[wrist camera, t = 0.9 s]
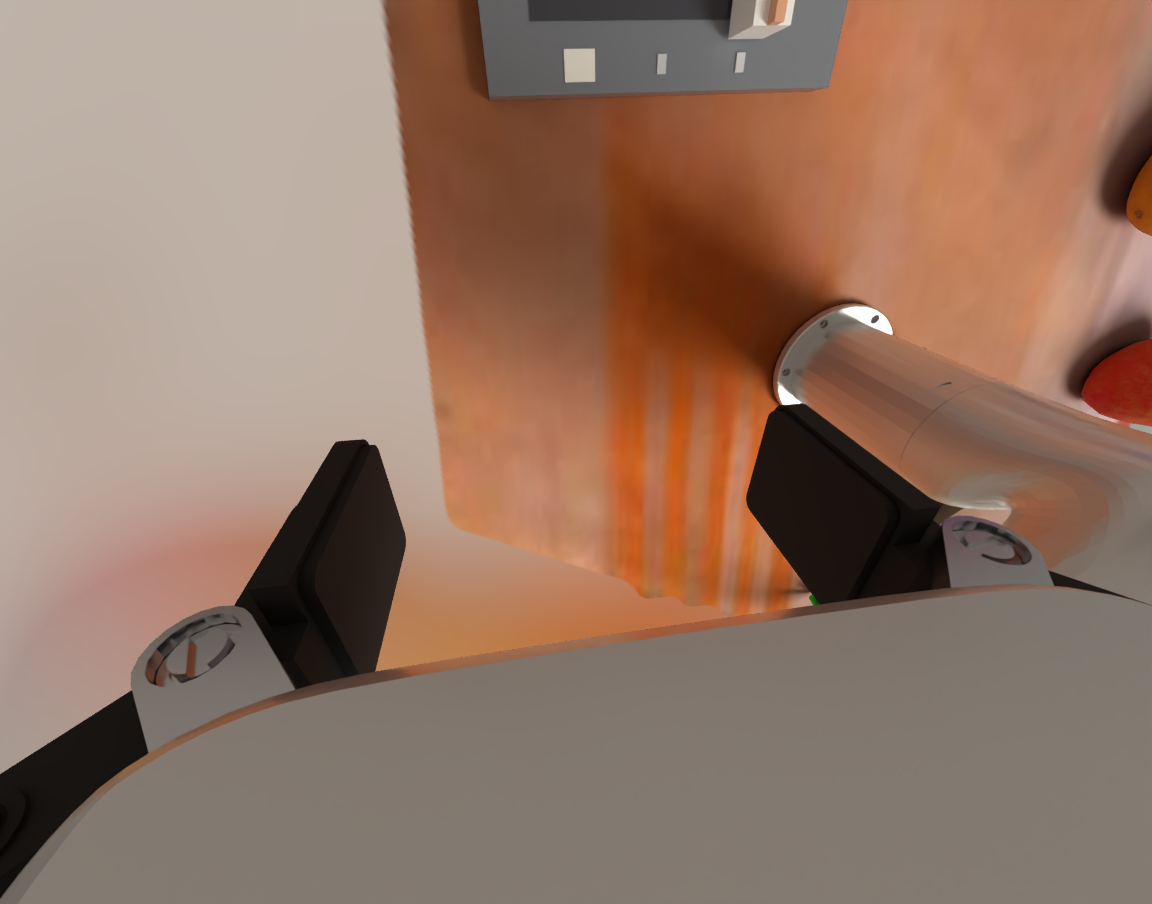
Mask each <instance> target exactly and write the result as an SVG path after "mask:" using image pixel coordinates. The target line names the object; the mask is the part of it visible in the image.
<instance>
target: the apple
mask: <svg viewBox="0 0 1152 904" xmlns="http://www.w3.org/2000/svg"><path fill="white" fill-rule="evenodd" d="M1081 394H1082V397H1083V400H1084V401H1085V402H1086V403H1087V404H1088V405H1089V406H1091V407H1092V408H1093V409H1094V410H1096V411H1097V412H1098V413H1099V414H1101V415H1104V416H1107V417H1109V418H1113V419H1117V420H1120V421H1124V422H1127V423H1133V424H1139V425H1145V426H1151V427H1152V339H1150V340H1144V341H1140V342H1137V343H1134V344H1131V345H1129V346H1127V347H1125V348H1123V349H1121V350H1119V351H1117V352H1116V353H1114V354H1112V355H1110V356H1109V357H1107V358H1106V359H1104V360H1103V361H1102V362H1100V363H1099V364H1098V365H1097V366H1096V367H1095V368H1094V369H1093V370H1092V371H1091V373H1090V375H1089V377H1088V378H1087V380H1086V382H1085V384H1084V387H1083V390H1082V393H1081Z"/></svg>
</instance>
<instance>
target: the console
mask: <svg viewBox="0 0 1152 904" xmlns="http://www.w3.org/2000/svg"><path fill="white" fill-rule="evenodd" d="M732 2H733V0H478V8H479V17H480V25H481V34H482V42H483V50H484V59H485V67H486V76H487V84H488V93H489V101H493V100H528V99H563V98H598V97H633V96H668V95H703V94H738V93H773V92H808V91H815V90H819V89H823V88H827V87H829V83H830V78H831V74H832V69H833V65H834V60H835V56H836V51H837V47H838V42H839V38H840V33H841V29H842V24H843V20H844V16H845V11H846V7H847V2H848V0H795V3H794V9H793V15H792V21H791V25H790V26H788V27H786V28H784V29H782V30H780V31H778V32H776V33H774V34H772V35H769V36H767V37H765V38H763V39H728V36H729V28H730V19H731V10H732Z"/></svg>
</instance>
